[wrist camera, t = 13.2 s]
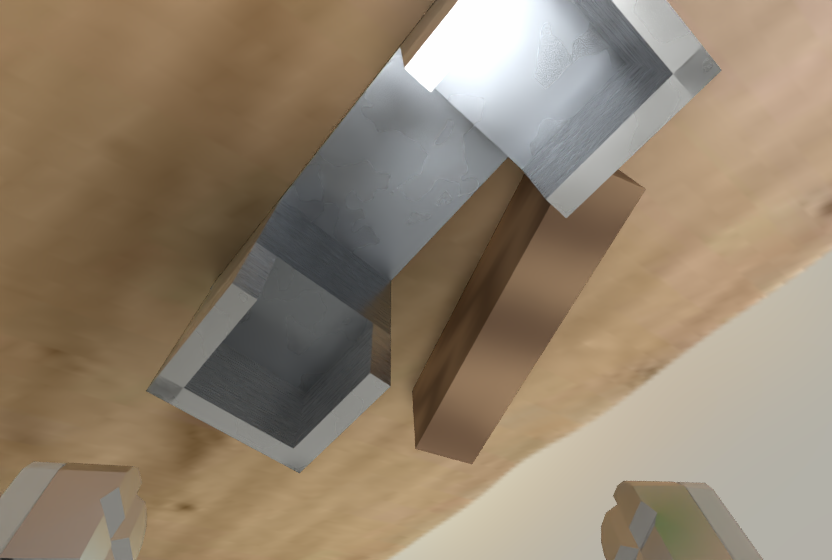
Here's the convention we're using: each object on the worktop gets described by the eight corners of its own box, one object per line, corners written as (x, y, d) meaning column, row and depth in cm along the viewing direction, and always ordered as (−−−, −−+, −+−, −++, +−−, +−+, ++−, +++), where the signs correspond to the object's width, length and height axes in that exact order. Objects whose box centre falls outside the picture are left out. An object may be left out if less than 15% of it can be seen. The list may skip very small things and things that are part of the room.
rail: (461, 403, 33) (472, 464, 29) (412, 388, 32) (415, 448, 28) (602, 158, 26) (645, 189, 22) (543, 132, 25) (576, 158, 21)
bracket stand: (319, 349, 31) (292, 479, 22) (214, 282, 28) (139, 398, 20) (612, 38, 23) (736, 55, 15) (503, -87, 21) (578, -150, 13)
